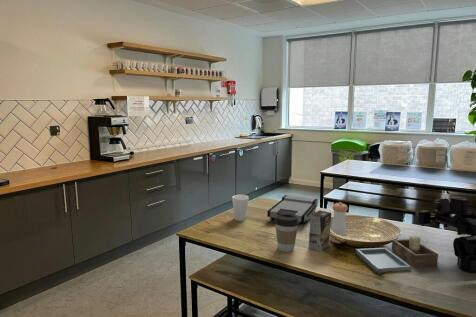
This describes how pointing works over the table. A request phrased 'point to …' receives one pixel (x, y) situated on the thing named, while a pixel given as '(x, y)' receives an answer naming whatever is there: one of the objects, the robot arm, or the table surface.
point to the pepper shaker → (339, 220)
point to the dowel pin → (414, 244)
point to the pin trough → (416, 260)
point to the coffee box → (319, 230)
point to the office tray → (294, 208)
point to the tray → (382, 260)
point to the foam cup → (240, 206)
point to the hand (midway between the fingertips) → (424, 212)
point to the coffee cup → (286, 231)
